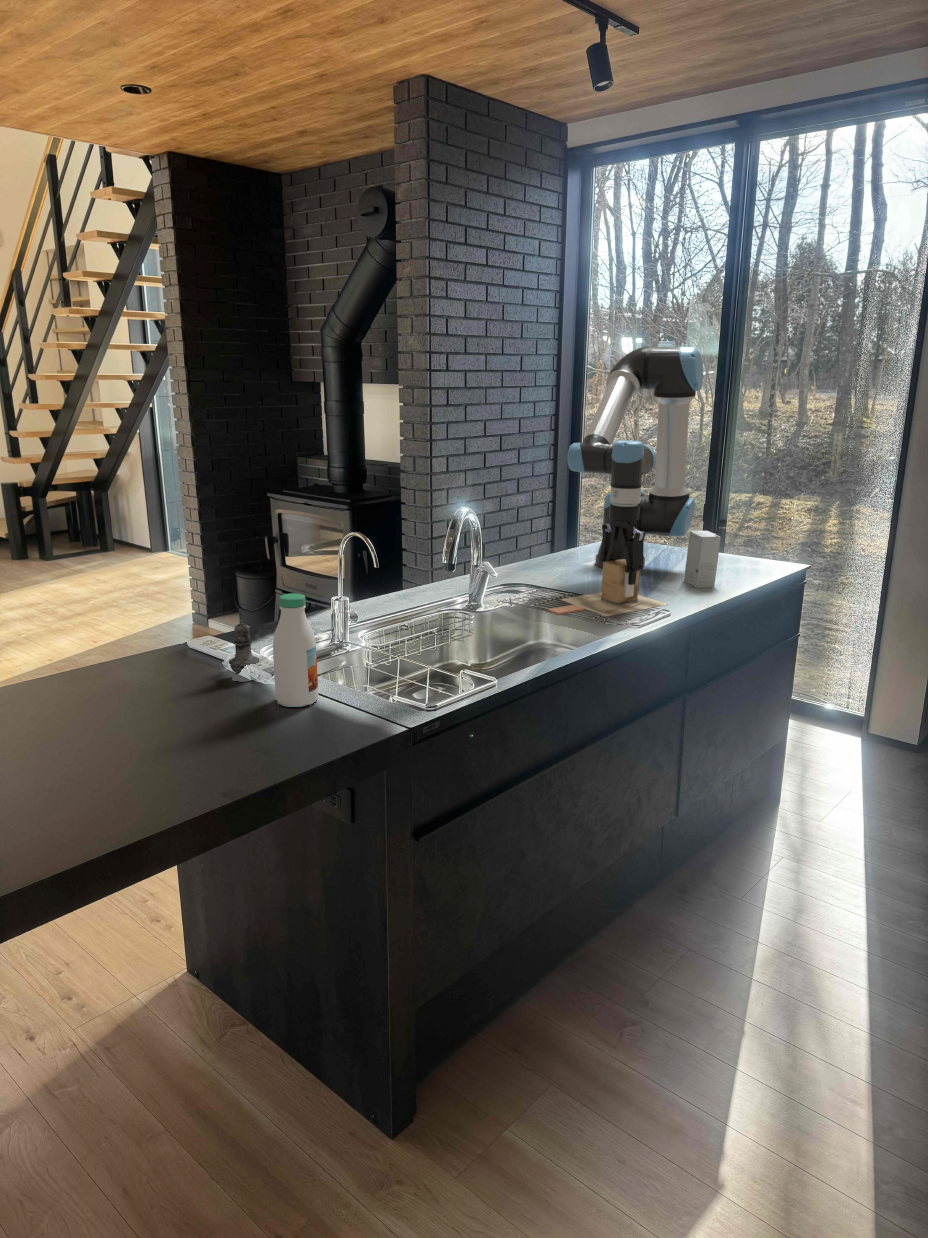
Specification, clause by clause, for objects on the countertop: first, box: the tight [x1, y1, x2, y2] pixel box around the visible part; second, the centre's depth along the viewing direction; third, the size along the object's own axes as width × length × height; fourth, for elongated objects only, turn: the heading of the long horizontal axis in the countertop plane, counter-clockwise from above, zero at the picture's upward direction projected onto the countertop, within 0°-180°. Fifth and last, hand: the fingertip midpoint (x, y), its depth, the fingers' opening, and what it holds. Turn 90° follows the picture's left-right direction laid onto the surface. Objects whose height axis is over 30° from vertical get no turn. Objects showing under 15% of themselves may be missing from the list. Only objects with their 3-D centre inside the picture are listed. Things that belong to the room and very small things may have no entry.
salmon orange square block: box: [547, 606, 571, 616], centre depth 214 cm, size 4×4×2 cm
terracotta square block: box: [562, 604, 585, 614], centre depth 216 cm, size 4×4×2 cm
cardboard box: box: [601, 559, 640, 605], centre depth 222 cm, size 7×6×10 cm
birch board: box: [559, 591, 670, 617], centre depth 223 cm, size 21×18×1 cm
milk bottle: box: [272, 592, 319, 705], centre depth 156 cm, size 8×8×20 cm
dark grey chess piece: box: [228, 619, 260, 674], centre depth 169 cm, size 6×6×12 cm
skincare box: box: [683, 530, 722, 589], centre depth 244 cm, size 8×6×15 cm
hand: (619, 593), depth 223 cm, fingers closed on cardboard box, 6 cm apart
